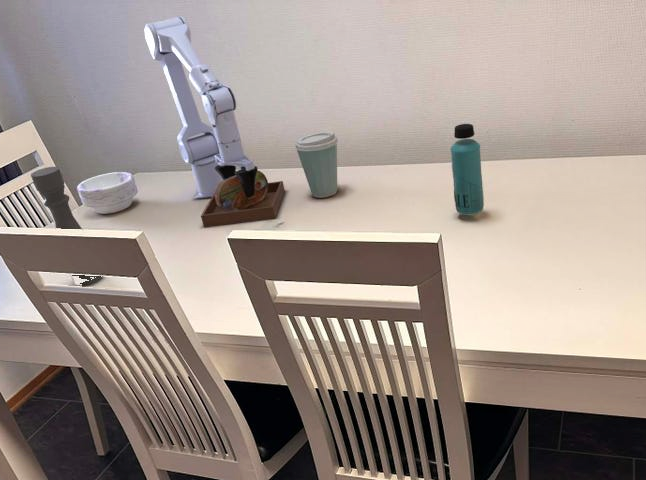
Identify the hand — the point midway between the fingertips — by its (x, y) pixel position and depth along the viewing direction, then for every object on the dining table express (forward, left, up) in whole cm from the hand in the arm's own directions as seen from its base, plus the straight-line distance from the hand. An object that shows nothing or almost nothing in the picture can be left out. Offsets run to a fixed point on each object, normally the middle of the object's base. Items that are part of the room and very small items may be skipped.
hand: (242, 193), depth 179 cm
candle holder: (+32, -30, -4) cm, 44 cm away
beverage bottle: (+22, +56, -4) cm, 60 cm away
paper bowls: (-14, -40, -4) cm, 43 cm away
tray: (0, 0, -4) cm, 4 cm away
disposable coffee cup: (-4, +21, -4) cm, 21 cm away
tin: (0, 0, -4) cm, 4 cm away
